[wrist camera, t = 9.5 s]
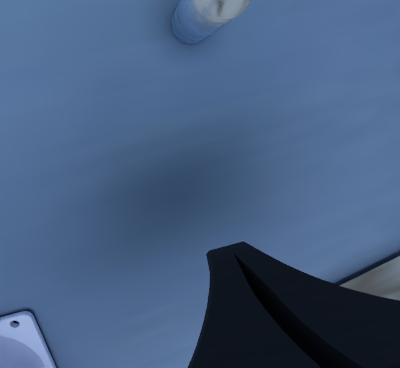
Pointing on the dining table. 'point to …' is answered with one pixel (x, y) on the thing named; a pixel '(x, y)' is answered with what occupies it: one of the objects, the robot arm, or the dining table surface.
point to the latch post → (203, 17)
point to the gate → (379, 280)
